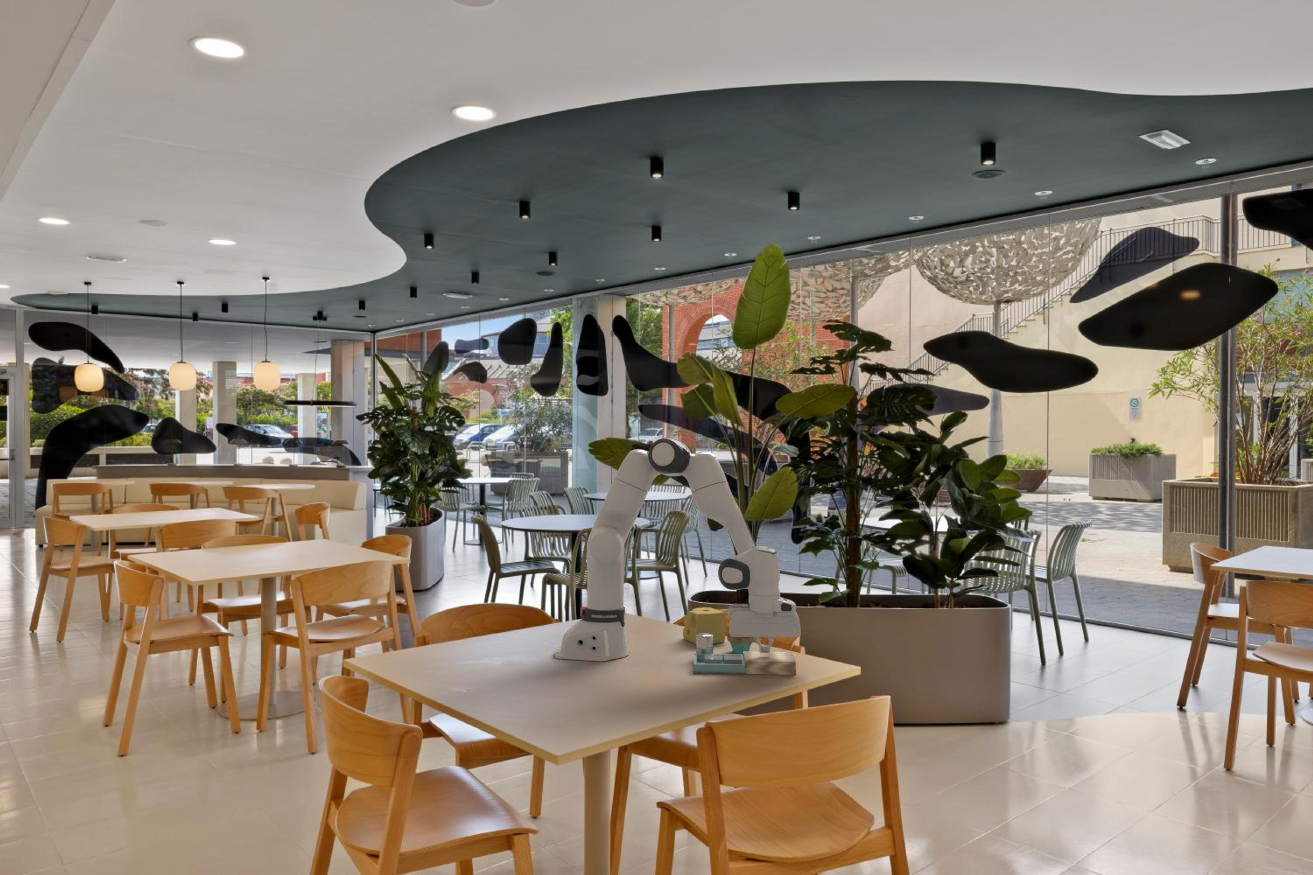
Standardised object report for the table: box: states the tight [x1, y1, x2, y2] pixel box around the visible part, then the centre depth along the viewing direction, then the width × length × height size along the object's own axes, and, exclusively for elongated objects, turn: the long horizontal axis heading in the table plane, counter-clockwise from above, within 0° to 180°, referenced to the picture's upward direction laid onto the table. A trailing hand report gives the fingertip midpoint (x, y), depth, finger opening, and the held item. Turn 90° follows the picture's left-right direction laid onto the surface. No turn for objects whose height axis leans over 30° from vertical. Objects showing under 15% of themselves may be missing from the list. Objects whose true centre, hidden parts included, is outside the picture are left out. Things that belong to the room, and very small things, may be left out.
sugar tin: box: [695, 633, 714, 654], centre depth 269 cm, size 5×5×7 cm
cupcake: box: [726, 632, 756, 654], centre depth 278 cm, size 9×8×12 cm
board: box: [743, 650, 797, 676], centre depth 257 cm, size 14×12×4 cm
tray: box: [693, 653, 746, 675], centre depth 258 cm, size 14×12×2 cm
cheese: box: [682, 606, 727, 645], centre depth 293 cm, size 10×11×10 cm
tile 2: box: [723, 655, 742, 664], centre depth 258 cm, size 5×5×2 cm
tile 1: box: [705, 655, 722, 664], centre depth 258 cm, size 5×5×2 cm
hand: (764, 652), depth 257 cm, fingers closed
